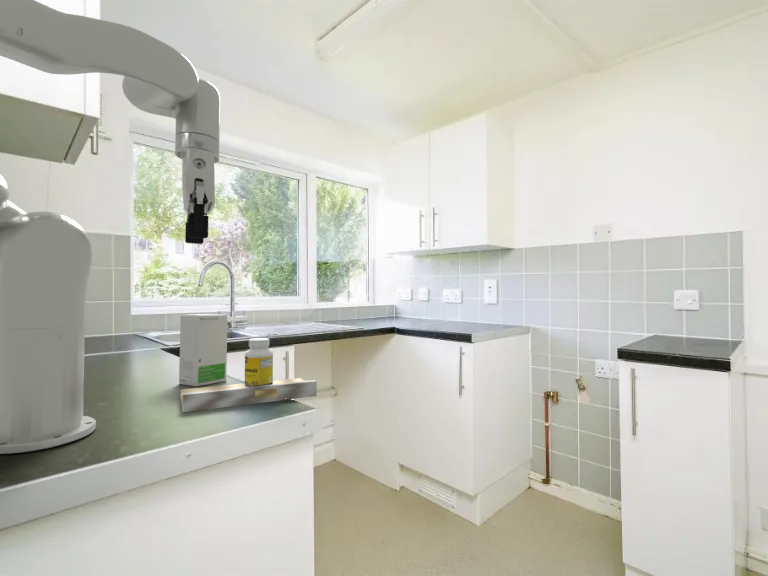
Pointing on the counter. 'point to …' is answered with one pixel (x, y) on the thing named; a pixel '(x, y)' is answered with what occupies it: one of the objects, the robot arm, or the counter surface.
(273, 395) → the shelf plank
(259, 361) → the supplement bottle
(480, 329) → the counter surface
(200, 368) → the skincare box
